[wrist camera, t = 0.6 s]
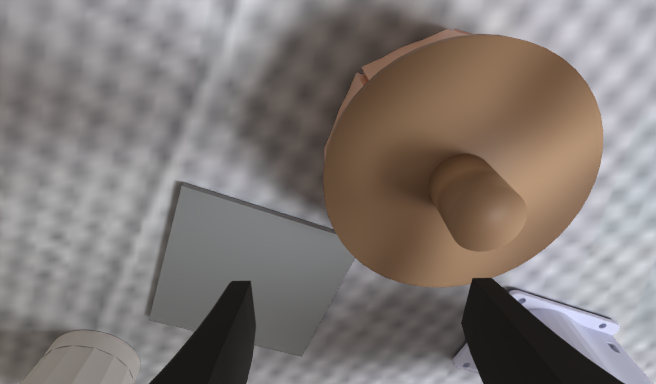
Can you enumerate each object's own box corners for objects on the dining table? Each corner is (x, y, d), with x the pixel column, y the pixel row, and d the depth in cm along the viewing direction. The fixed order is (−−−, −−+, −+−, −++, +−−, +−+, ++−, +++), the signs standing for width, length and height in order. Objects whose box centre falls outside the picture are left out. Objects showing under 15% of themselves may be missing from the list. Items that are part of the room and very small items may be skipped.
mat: (362, 239, 23) (363, 242, 23) (301, 351, 28) (301, 356, 28) (183, 182, 21) (181, 185, 21) (151, 315, 26) (148, 320, 25)
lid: (653, 102, 16) (742, 132, 12) (491, 301, 21) (524, 359, 18) (397, -22, 13) (424, -24, 10) (286, 239, 18) (280, 293, 15)
